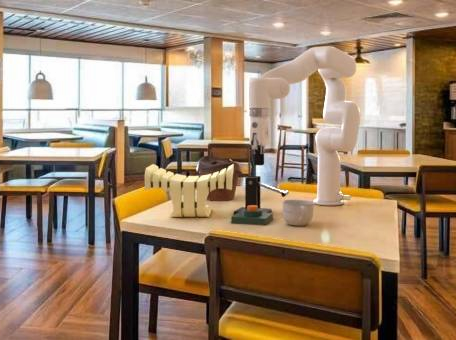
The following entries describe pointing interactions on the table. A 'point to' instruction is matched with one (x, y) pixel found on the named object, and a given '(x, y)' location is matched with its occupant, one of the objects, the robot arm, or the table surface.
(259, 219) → the button block
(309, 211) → the teacup
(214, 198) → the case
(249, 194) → the bracket
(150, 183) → the slatted curved stool
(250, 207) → the button
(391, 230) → the table surface
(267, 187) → the lever
